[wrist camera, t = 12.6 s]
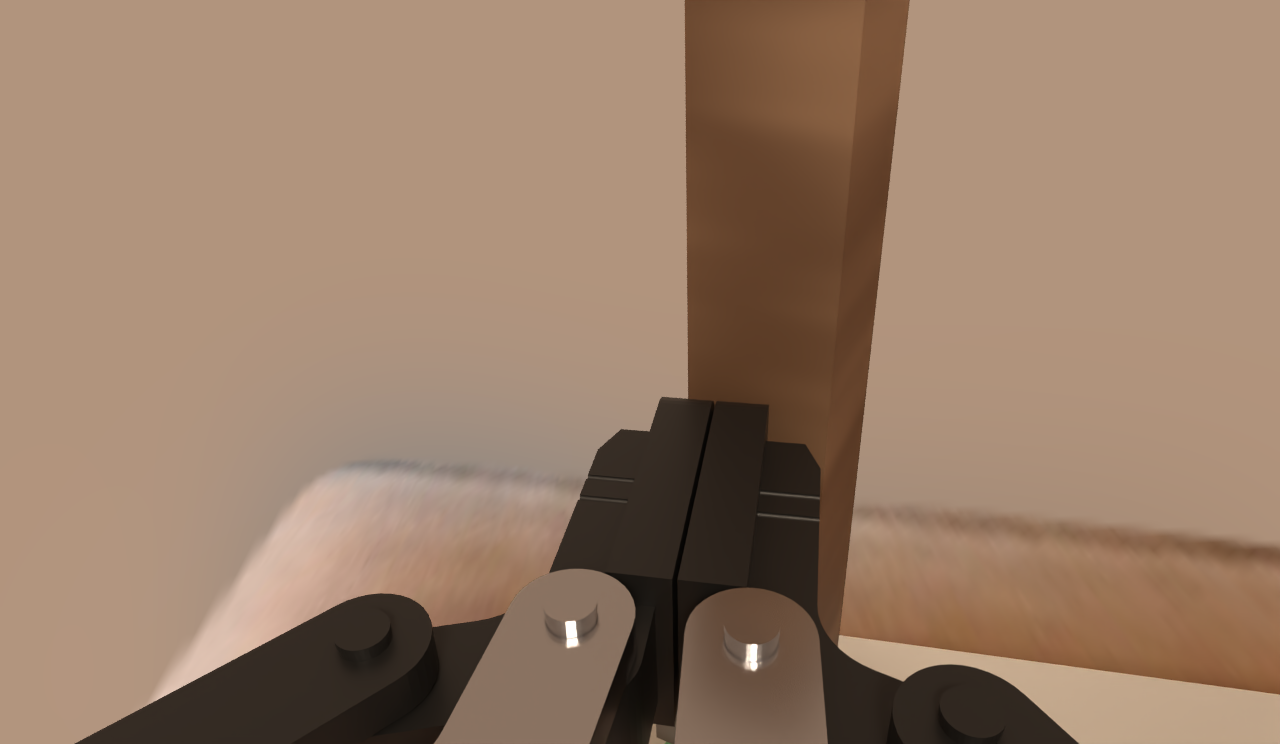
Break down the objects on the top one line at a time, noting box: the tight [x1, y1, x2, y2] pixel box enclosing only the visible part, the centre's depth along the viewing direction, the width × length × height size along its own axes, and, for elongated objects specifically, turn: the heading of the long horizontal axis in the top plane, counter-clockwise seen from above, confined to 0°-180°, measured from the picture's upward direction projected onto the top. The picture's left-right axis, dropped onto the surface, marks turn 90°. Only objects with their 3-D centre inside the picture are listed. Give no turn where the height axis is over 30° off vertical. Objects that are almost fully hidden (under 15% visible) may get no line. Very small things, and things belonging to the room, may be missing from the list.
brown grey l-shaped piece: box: [656, 0, 910, 744], centre depth 11 cm, size 15×4×16 cm, turn 62°
